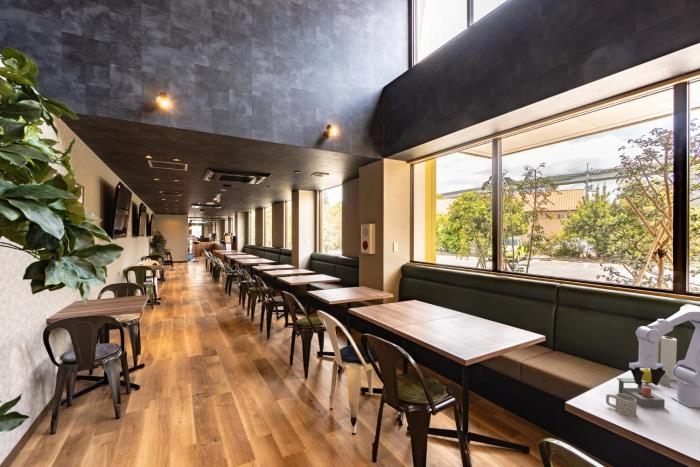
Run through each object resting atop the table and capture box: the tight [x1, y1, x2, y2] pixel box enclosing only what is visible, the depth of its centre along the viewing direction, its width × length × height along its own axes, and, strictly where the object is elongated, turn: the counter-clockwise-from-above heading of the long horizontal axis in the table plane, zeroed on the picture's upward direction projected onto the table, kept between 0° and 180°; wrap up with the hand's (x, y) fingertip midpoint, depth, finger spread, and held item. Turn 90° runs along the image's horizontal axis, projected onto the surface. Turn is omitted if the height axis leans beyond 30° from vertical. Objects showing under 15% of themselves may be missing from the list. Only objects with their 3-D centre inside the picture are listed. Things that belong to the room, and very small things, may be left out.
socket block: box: [616, 377, 665, 409], centre depth 145 cm, size 11×12×7 cm
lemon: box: [641, 368, 653, 385], centre depth 160 cm, size 6×6×8 cm
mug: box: [605, 392, 638, 418], centre depth 136 cm, size 10×7×7 cm, turn 44°
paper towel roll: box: [656, 335, 678, 381], centre depth 168 cm, size 7×6×21 cm
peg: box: [641, 385, 652, 398], centre depth 142 cm, size 3×3×7 cm
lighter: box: [658, 374, 671, 388], centre depth 161 cm, size 7×2×8 cm, turn 42°
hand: (646, 384), depth 142 cm, fingers open, 7 cm apart
